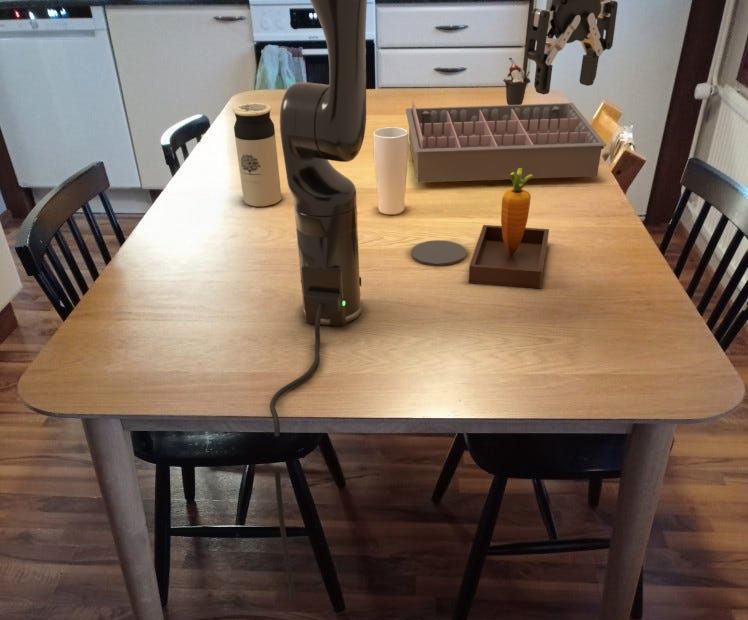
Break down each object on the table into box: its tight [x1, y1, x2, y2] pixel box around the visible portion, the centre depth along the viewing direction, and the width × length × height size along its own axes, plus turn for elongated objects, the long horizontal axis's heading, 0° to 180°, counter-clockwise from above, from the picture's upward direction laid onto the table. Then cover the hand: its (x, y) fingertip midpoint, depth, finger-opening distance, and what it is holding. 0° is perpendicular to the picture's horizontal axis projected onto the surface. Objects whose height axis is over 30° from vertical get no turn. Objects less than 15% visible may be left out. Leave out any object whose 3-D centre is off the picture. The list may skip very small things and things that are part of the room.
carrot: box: [500, 168, 533, 255], centre depth 134 cm, size 5×5×15 cm
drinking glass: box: [372, 126, 409, 216], centre depth 153 cm, size 7×7×15 cm
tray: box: [468, 224, 550, 289], centre depth 137 cm, size 18×12×3 cm, turn 167°
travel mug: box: [232, 102, 282, 208], centre depth 158 cm, size 8×8×18 cm
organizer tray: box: [405, 100, 607, 183], centre depth 175 cm, size 32×40×10 cm
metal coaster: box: [410, 240, 467, 267], centre depth 141 cm, size 10×10×1 cm
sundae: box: [502, 57, 531, 105], centre depth 196 cm, size 7×7×15 cm
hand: (564, 88), depth 113 cm, fingers open, 8 cm apart
